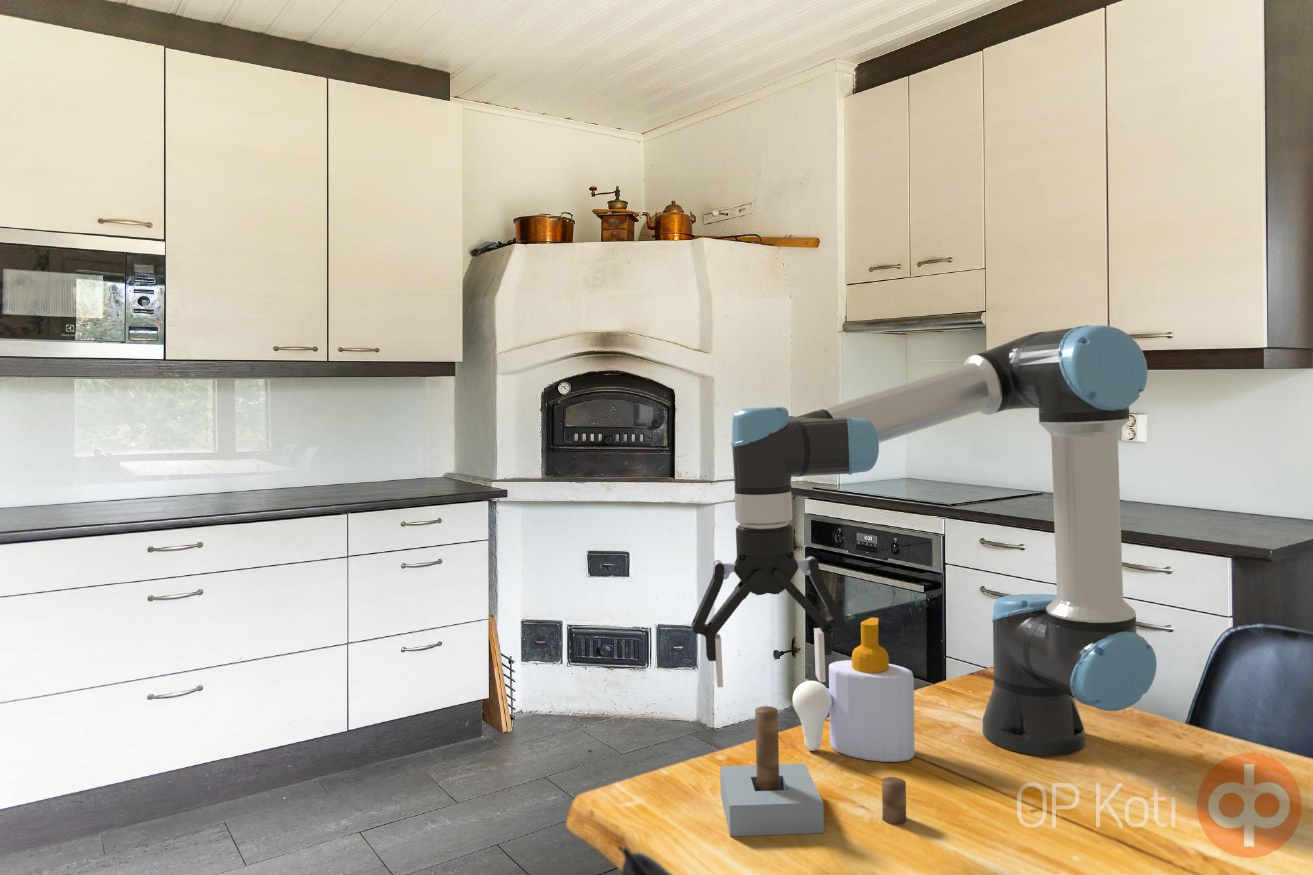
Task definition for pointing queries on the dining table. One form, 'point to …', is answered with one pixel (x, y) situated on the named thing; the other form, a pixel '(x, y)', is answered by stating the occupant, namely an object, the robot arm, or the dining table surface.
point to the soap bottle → (871, 703)
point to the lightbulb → (812, 711)
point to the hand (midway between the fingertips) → (769, 681)
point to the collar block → (771, 802)
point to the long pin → (767, 748)
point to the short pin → (894, 800)
